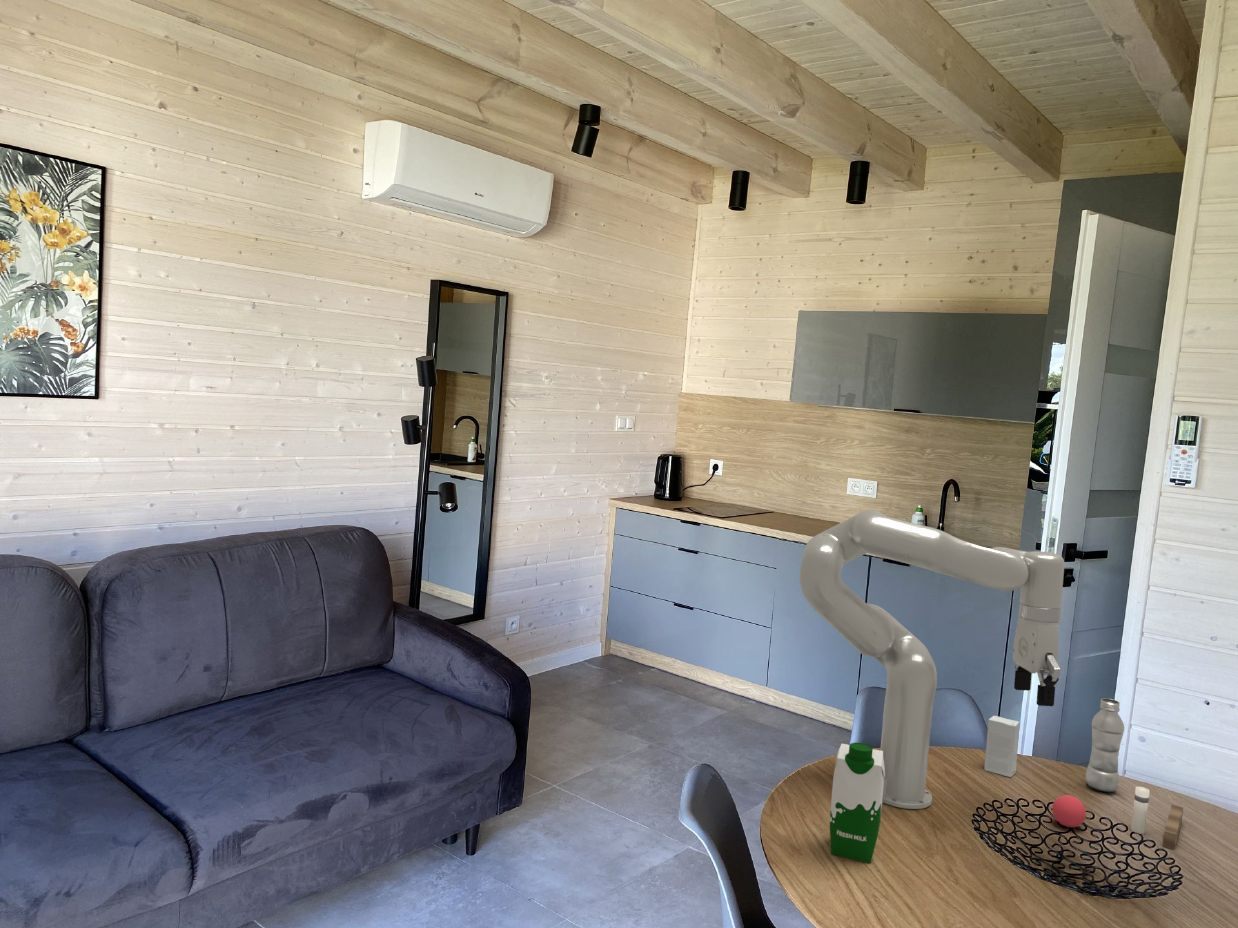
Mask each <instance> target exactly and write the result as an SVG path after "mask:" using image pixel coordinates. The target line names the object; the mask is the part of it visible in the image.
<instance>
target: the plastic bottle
mask: <svg viewBox="0 0 1238 928" xmlns="http://www.w3.org/2000/svg"><path fill="white" fill-rule="evenodd" d="M1099 708H1100V710H1099V711H1098V712H1097V713H1096V714H1095V715H1094V716H1093V718H1092V720H1091V736H1092V737H1091V738H1092V739H1091V753H1090V757H1089V762H1088V765H1087V767H1086V772H1085V780H1086V783H1087V784H1088V786H1089V787H1091V788H1093V789H1094V790H1097V791H1101V792H1107V793H1113V792H1114V791H1116V790H1117V789H1118V786H1119V784H1120V783H1119V782H1120V777H1119V754H1120V748H1121V743H1122V739H1123V736H1124V732H1125V723H1124V722H1123V720H1122V717H1121V715H1120V714H1119V712H1120V702H1119V701H1117V700H1116V699H1112V698H1107V697H1106V698H1101V699H1100V705H1099Z"/></svg>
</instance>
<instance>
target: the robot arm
mask: <svg viewBox="0 0 1238 928" xmlns="http://www.w3.org/2000/svg"><path fill="white" fill-rule="evenodd" d="M865 554H869V555H874V556H876V557H881V558H884V559H888V560H892V561H896V562H900V563H905V564H906V565H907V564H908V565H911V566H915V567H917V568H918V567H919V568H922V569H925V570H928V571H931V572H934V573H937V574H941V575H945V576H949V577H952V578H955V579H958V580H961V581H965V582H968V583H972V584H976V585H978V586H983V587H986V588H990V589H994V590H997V591H1002V592H1003V591H1004V592H1013V591H1016V590H1019V589H1020V595H1019V596H1020V597H1019V608H1018V619H1017V623H1016V628H1015V632H1014V640H1013V641H1014V642H1013V648H1012V660H1013V662H1014V683H1013V684H1014V685H1013V688H1014V689H1015V691H1031V688H1032V687H1031V685H1032V674H1036V675H1037V677H1038V681H1039V684H1037V692H1036V705H1037V706H1040V707H1054V705H1055V697H1056V696H1055V695H1056V687H1057V685H1058V682H1059V680H1060V679H1059V677H1060V674H1061V672H1062V670H1061V667H1060V664H1059V646H1060V644H1059V643H1060V642H1059V640H1060V639H1059V625H1060V624H1061V614H1062V602H1063V601H1062V600H1063V599H1062V598H1063V585H1064V574H1065V560H1064V558H1063V557H1062V555H1060V554H1057V553H1055V552H1049V551H1039V550H1038V551H1034V550H1033V551H1025V550H1019V549H1013V548H1010V547H1009V548H1008V547H1005V546H1004V547H1003V546H996V547H991V548H989V547H986V546H985V547H984V546H981V545H978V544H975V543H972V542H968V541H965V540H963V539H960V538H958V537H956V536H953V535H952V534H949V533H947V532H946V531H944V530H941V529H938V528H935V527H931V526H926V525H922V524H919V523H914V522H910V521H906V520H903V519H900V518H899V519H898V518H895V517H892V516H888V515H885V514H884V513H882V512H881V511H878V510H874V509H872V510H871V509H869V510H864V511H861V512H859V513H857V514H855V515H853V516H851V517H849V518H848V519H846V520H844V521H842V522H839V523H838V524H836V525H834V526H832V527H829V528H827V529H826V530H824V531H821V532H820V533H818V534H816V535H814V536H813V537H811V538H810V540H808V542H807V543H806V545H805V547H804V550H803V556H802V560H801V564H800V569H799V585H800V589H801V592H802V595H803V596H804V599H805V600H806V602H807V603H808V605H809V606H810V607H811V608H812V609H813V610H814V611H815V612H816V613H817V614H818V615H819V616H820V617H821V618H823V619H824V620H825V621H826V622H827V623H828V624H829V625H830V626H831V628H832V629H834V630H835V631H836V632H837V633H838V634H839V635H840V636H842V637H843V639H845V640H846V641H847V642H848V643H849V644H850V645H851V646H852V647H853V648H854V649H855V650H856V651H857V652H858V653H860V654H862V655H864V656H865V657H870V658H874V659H875V660H876V661H877V662H879V664H881V666H883V667H884V668H885V669H886V673H887V675H886V676H887V677H886V689H885V697H884V705H883V714H882V715H883V716H882V729H881V741H880V751H883V759H884V767H885V777H884V785H883V798H882V804H887V805H889V806H893V807H896V808H900V809H906V810H920V809H921V810H922V809H925V808H927V807H929V806H931V805H932V803H933V795H932V793H931V792H930V791H929V790H928V789H927V788H926V784H927V783H926V781H927V774H928V773H927V771H928V764H929V763H928V761H929V749H930V739H931V729H932V718H933V709H934V708H933V707H934V701H935V697H936V696H935V695H936V692H937V691H936V690H937V684H938V671H937V667H936V664H935V661H934V660H933V657H932V656H931V654H930V651H929V650H928V648H927V647H926V645H925V644H924V643H923V642H922V641H921V640H920V639H919V638H918V637H916V636H915V635H913V633H912V632H910V631H909V630H908V629H907V628H906V627H905V626H904V625H903V624H901V623H900V622H899V621H898V620H897V619H896V618H895V617H894V616H892V615H891V613H889V612H888V611H886V610H885V609H884V608H883V607H881V606H879V605H876V604H872V603H867V602H865V601H864V600H863V599H862V598H861V597H860V596H859V595H858V594H857V593H856V592H855V591H854V590H852V589H851V588H850V586H849V587H848V586H847V585H846V583H844V581H843V579H842V576H841V573H842V570H843V568H844V565H846V564H848V563H849V562H851V561H854V560H857V559H858V558H859V557H862V556H864V555H865ZM1045 676H1046V677H1045ZM883 775H884V774H883Z"/></svg>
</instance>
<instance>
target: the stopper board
mask: <svg viewBox="0 0 1238 928" xmlns="http://www.w3.org/2000/svg"><path fill="white" fill-rule="evenodd" d="M1183 813H1184V807H1183V806H1179V805H1175V804H1171V806H1170V810H1169V814H1168V817H1167V819H1166V824H1165V827H1164V830H1163V839H1162V847H1165V848H1168V849H1171V850H1174V851H1175V849H1176V845H1177V842H1178V837H1179V833H1180V830H1181V827H1182V821H1183Z"/></svg>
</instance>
